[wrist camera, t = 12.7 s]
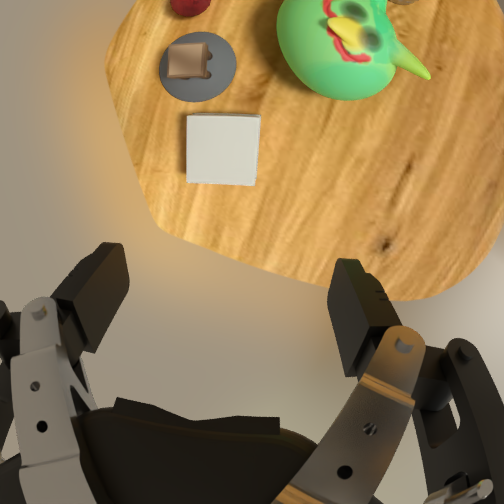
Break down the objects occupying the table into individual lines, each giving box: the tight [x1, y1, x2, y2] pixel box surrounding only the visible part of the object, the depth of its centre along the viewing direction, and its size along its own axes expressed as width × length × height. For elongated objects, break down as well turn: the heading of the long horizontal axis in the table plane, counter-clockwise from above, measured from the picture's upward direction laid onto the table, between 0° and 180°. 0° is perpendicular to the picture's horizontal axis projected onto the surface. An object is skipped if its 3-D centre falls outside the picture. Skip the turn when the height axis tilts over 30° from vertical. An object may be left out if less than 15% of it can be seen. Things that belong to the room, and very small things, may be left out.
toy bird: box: [276, 0, 431, 101], centre depth 27 cm, size 18×17×15 cm
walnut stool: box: [167, 42, 213, 80], centre depth 32 cm, size 5×5×7 cm
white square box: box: [187, 113, 261, 186], centre depth 40 cm, size 10×10×5 cm
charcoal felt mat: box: [159, 32, 236, 102], centre depth 35 cm, size 12×12×1 cm
